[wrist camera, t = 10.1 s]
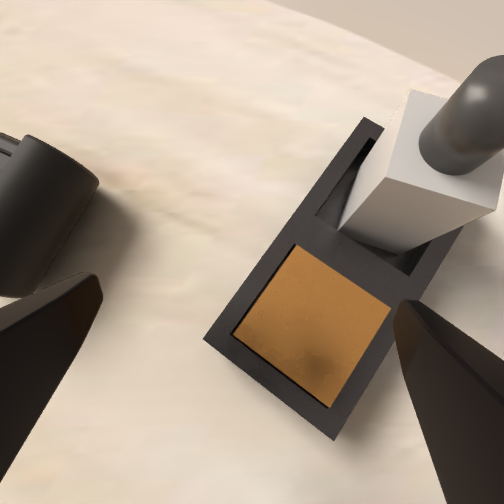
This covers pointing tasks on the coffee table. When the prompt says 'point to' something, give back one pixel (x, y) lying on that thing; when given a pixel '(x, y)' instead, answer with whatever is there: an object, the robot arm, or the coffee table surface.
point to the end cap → (36, 209)
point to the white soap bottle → (431, 166)
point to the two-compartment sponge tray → (323, 300)
